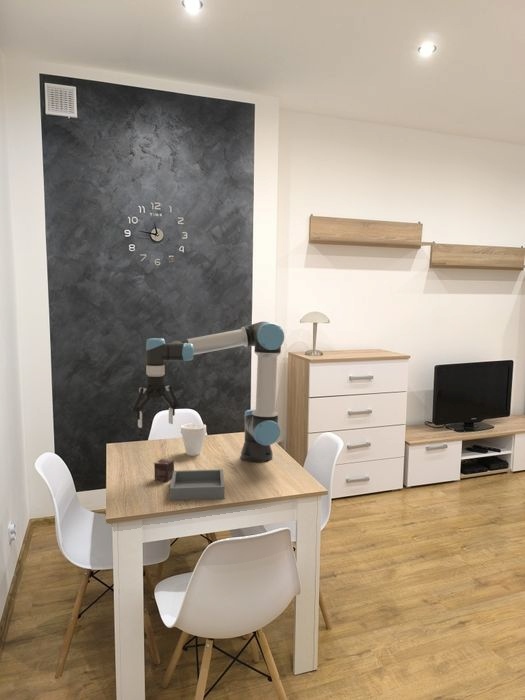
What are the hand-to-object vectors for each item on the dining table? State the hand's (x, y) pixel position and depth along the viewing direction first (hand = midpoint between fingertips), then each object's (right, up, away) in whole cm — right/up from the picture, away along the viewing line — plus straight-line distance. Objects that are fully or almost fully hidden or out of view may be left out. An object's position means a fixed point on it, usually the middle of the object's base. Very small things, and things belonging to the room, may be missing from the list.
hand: (155, 425), depth 208 cm
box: (+4, -22, -3) cm, 23 cm away
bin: (+20, -23, -16) cm, 34 cm away
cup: (+12, -19, +32) cm, 39 cm away
